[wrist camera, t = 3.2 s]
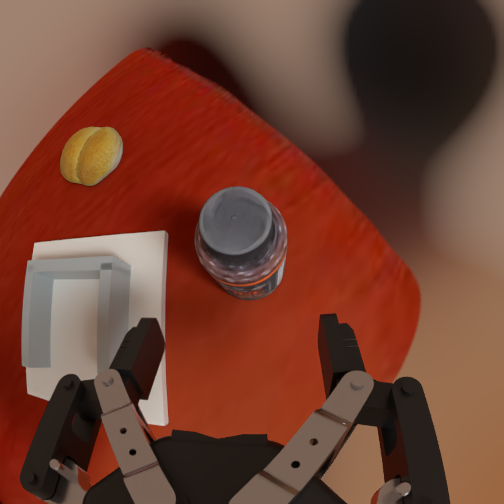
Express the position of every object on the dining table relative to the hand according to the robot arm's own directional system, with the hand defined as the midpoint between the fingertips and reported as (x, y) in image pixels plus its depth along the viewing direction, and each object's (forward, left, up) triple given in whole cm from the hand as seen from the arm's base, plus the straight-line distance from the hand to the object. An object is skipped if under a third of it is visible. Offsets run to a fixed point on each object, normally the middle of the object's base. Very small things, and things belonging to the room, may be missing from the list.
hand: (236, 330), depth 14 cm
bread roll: (-27, +8, -12) cm, 31 cm away
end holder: (-15, -8, -11) cm, 20 cm away
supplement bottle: (-3, +5, -11) cm, 13 cm away
